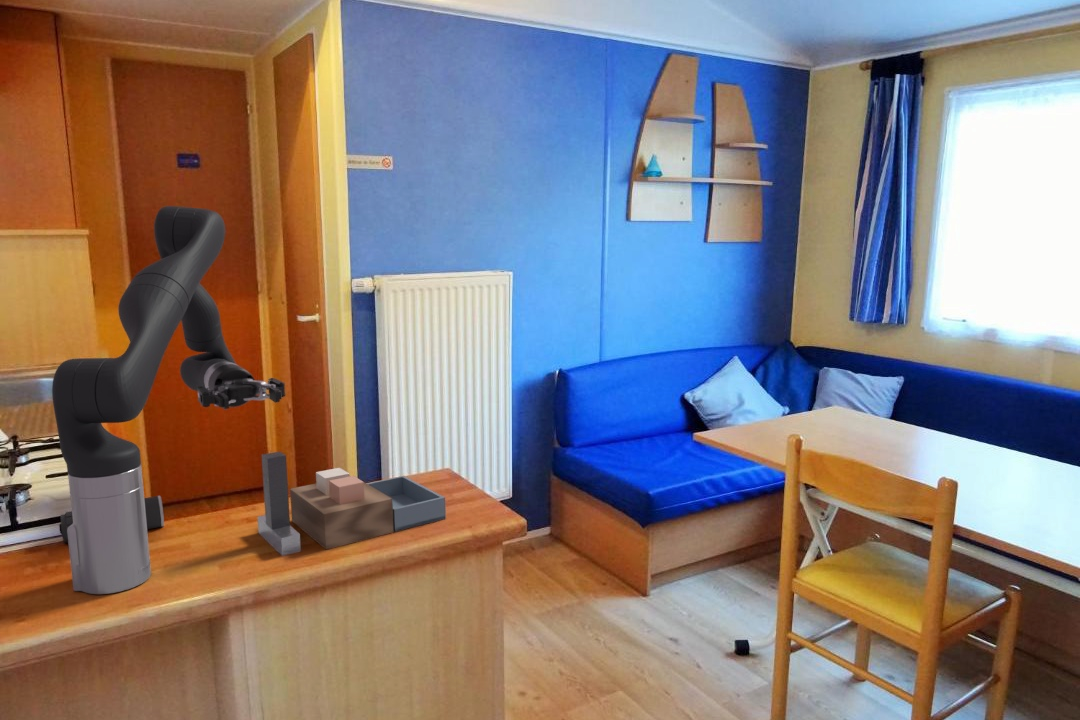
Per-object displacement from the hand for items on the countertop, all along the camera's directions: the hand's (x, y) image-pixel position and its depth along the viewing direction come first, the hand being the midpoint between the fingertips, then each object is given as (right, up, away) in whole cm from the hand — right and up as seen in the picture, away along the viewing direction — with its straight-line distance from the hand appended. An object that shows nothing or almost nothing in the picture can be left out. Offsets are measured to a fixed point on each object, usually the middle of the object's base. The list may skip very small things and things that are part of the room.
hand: (252, 399), depth 131 cm
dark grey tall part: (+6, -23, -5) cm, 25 cm away
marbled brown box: (+15, -22, +2) cm, 27 cm away
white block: (+13, -16, +3) cm, 21 cm away
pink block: (+17, -17, -2) cm, 24 cm away
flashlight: (-23, -23, -1) cm, 33 cm away
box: (+24, -21, +8) cm, 33 cm away
